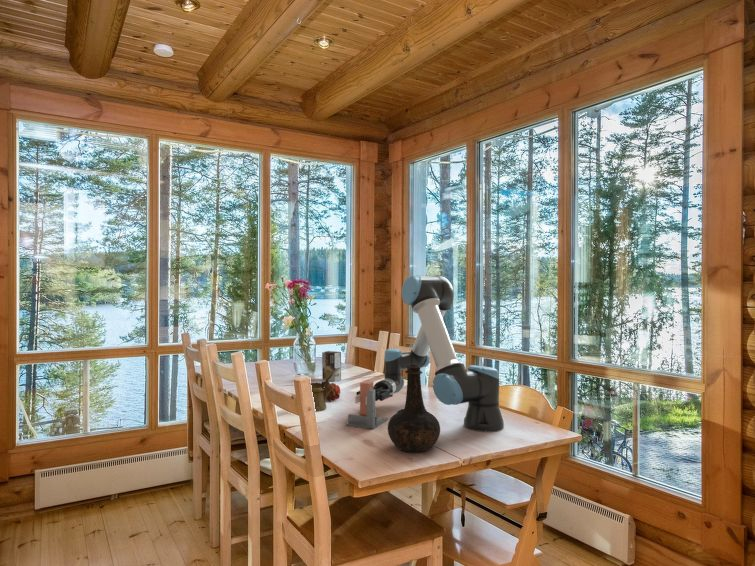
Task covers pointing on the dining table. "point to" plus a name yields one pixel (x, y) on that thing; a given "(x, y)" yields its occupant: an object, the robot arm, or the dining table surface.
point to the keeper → (366, 420)
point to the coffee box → (331, 365)
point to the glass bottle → (413, 419)
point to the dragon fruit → (333, 392)
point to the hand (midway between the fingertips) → (361, 400)
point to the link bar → (364, 396)
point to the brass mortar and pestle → (321, 392)
